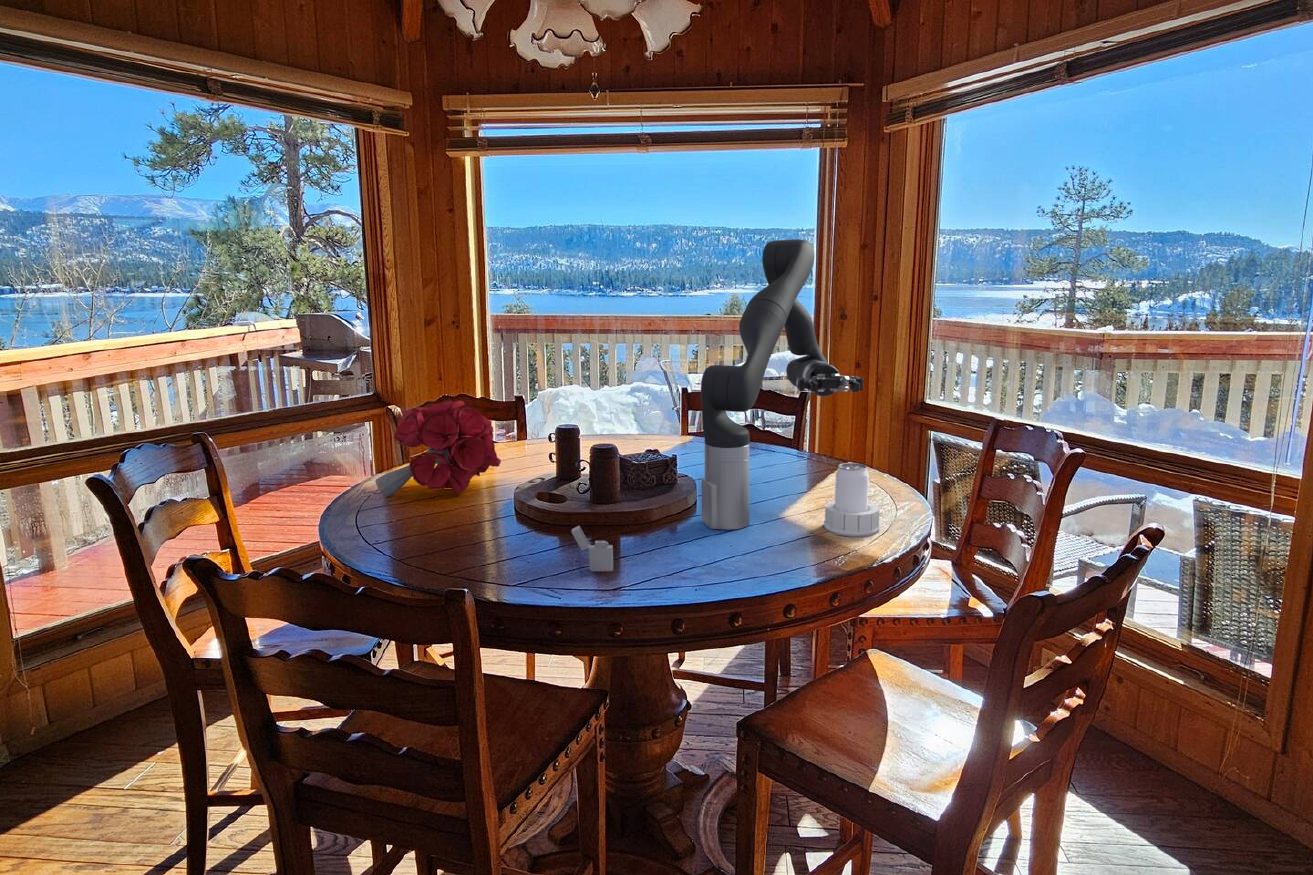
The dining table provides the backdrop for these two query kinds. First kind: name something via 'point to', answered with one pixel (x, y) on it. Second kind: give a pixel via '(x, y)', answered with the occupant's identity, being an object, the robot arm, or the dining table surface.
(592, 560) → the lighter
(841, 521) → the holder
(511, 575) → the dining table surface
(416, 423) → the bouquet
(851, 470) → the can
